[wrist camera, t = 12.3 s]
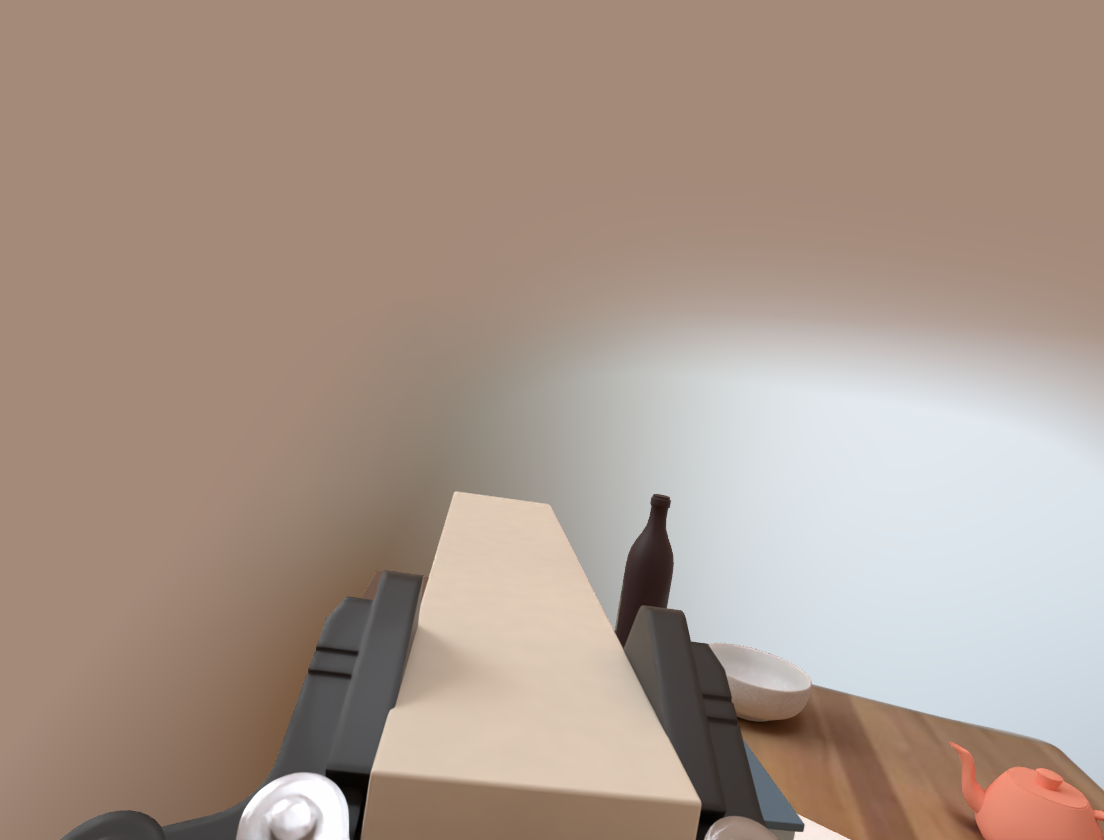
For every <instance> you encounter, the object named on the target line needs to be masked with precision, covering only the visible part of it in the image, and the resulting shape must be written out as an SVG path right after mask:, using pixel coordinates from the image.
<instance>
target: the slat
mask: <svg viewBox="0 0 1104 840" xmlns="http://www.w3.org/2000/svg"><path fill="white" fill-rule="evenodd" d="M701 805H702V804H701V801H700V799H699V797H698V795H697V793H696V791H695V789H694V787H693V785H692V783H691V781H690V779H689V777H688V775H687V773H686V771H685V769H684V767H683V765H682V763H681V761H680V759H679V757H678V755H677V753H676V752H675V750H674V748H673V746H672V744H671V742H670V740H669V738H668V736H667V735H666V733H665V731H664V729H663V727H662V725H661V723H660V721H659V719H658V717H657V715H656V713H655V711H654V709H653V707H652V706H651V704H650V702H649V700H648V698H647V696H646V694H645V692H644V690H643V688H642V686H641V684H640V682H639V680H638V678H637V676H636V674H635V672H634V670H633V668H632V666H631V664H630V662H629V660H628V658H627V656H626V654H625V652H624V650H623V648H622V646H621V644H620V642H619V640H618V638H617V636H616V634H615V632H614V630H613V628H612V626H611V624H610V622H609V620H608V618H607V616H606V614H605V612H604V610H603V608H602V607H601V604H600V602H599V600H598V599H597V597H596V595H595V593H594V591H593V589H592V587H591V585H590V583H589V581H588V579H587V577H586V575H585V573H584V571H583V569H582V567H581V565H580V563H579V561H578V559H577V557H576V556H575V553H574V551H573V549H572V547H571V545H570V544H569V542H568V540H567V538H566V536H565V534H564V532H563V530H562V528H561V526H560V524H559V522H558V520H557V518H556V516H555V514H554V512H553V510H552V508H551V506H550V505H549V504H543V503H536V502H528V501H521V500H514V499H507V498H500V497H492V496H485V495H478V494H470V493H464V492H454V495H453V498H452V501H451V505H450V508H449V511H448V515H447V518H446V522H445V525H444V528H443V532H442V535H441V538H440V542H439V545H438V548H437V552H436V555H435V558H434V562H433V565H432V568H431V572H430V575H429V578H428V582H427V585H426V589H425V592H424V595H423V599H422V602H421V605H420V613H419V621H418V627H417V630H416V634H415V637H414V641H413V644H412V648H411V652H410V655H409V659H408V662H407V666H406V669H405V673H404V677H403V680H402V684H401V687H400V691H399V694H398V698H397V702H396V705H395V708H393V709H391V710H390V712H389V714H388V716H387V719H386V723H385V726H384V729H383V733H382V736H381V739H380V743H379V746H378V749H377V753H376V756H375V760H374V763H373V766H372V770H371V773H370V779H369V786H368V793H367V800H366V806H365V813H364V820H363V826H362V833H361V840H696V834H697V828H698V823H699V817H700V811H701Z"/></svg>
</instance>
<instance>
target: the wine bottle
mask: <svg viewBox="0 0 1104 840" xmlns="http://www.w3.org/2000/svg"><path fill="white" fill-rule="evenodd" d="M670 502H671V501H670V497H668V496H664V495H659V494H654V495H653V497H652V498H651V506H652V507H651V512H650V517H649V520H648V523H647V526H646V527H645V529H644V530H643V532H642V533H641V534H640V536H639V537H638V538H637V539H636V541H635V542H634V544H633V546H632V547H631V549H630V552H629V554H628V558H627V562H626V567H625V573H624V579H623V585H622V591H621V597H620V603H619V609H618V614H617V620H616V627H615V634H616V636H617V638H618V640H619V642H620V644H621V646H622V648H623V649H624V647H625V644H626V641H627V639H628V636H629V634H630V631H631V628H632V626H633V623H634V621H635V618H636V615H637V613H638V610H639V609H640V607H641V606H643V605H644V606H652V607H659V608H667V604H668V598H669V592H670V586H671V580H672V574H673V565H674V563H673V553H672V549H671V545H670V542H669V539H668V535H667V531H666V517H667V511H668V508H670Z"/></svg>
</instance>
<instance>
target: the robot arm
mask: <svg viewBox="0 0 1104 840" xmlns="http://www.w3.org/2000/svg"><path fill="white" fill-rule="evenodd" d="M423 581H424V575H417V574H410V573H402V572H395V571H388V570H383V572H382V574H381V577H380V580H379V584H378V587H377V591H376V594H375V598H374V600H370V599H362V598H354V597H346V598H345V599H344V600H343V601H342V602H341V604H340V605H339V606H338V607H337V608H336V609H335V610H334V611H333V612H332V613H331V614H330V615H329V616H328V618H327V619H326V621H325V624H324V627H323V630H322V633H321V635H320V638H319V641H318V644H317V647H316V651H315V652H314V655H313V658H312V661H311V664H310V667H309V670H308V674H307V675H306V678H305V680H304V683H303V686H302V689H301V692H300V695H299V697H298V700H297V703H296V706H295V709H294V712H293V714H292V717H291V720H290V723H289V726H288V729H287V732H286V734H285V737H284V740H283V743H282V746H281V748H280V752H279V754H278V757H277V760H276V762H275V764H274V767H273V769H272V770H271V772H270V774H269V775H268V777H267V778H266V780H265V781H264V782H263V783H262V784H261V786H260V787H259V788H258V789H257V790H256V791H255V792H254V793H253V794H251V795H250V796H249V797H247V798H246V799H245V800H243V801H242V802H240V803H239V804H237V805H235V806H234V807H232V808H229V809H227V810H225V811H223V812H220V813H216V814H213V815H210V816H206V817H202V818H197V819H193V820H188V821H185V822H180V823H176V824H172V825H167V826H163V827H161V826H160V825H159V824H158V823H157V821H156V820H154V819H153V818H151V817H150V816H148V815H146V814H143V813H141V812H136V811H130V810H129V811H115V812H109V813H106V814H103V815H99V816H97V817H95V818H92V819H90V820H88V821H86V822H84V823H82V824H81V825H79V826H77V827H76V828H75V829H73V830H72V831H71V832H69V833H68V834H67V835H65V836H64V837H63V838H62V839H61V840H361V833H362V826H363V820H364V813H365V806H366V800H367V793H368V786H369V779H370V773H371V770H372V766H373V763H374V760H375V756H376V753H377V749H378V746H379V743H380V739H381V736H382V733H383V729H384V726H385V723H386V719H387V716H388V714H389V712H390V710H391V709H393V708H395V705H396V702H397V698H398V694H399V691H400V687H401V684H402V680H403V677H404V673H405V669H406V666H407V662H408V659H409V655H410V652H411V648H412V644H413V641H414V637H415V634H416V630H417V627H418V621H419V613H420V605H421V597H422V589H423ZM623 650H624V652H625V654H626V656H627V658H628V660H629V662H630V664H631V666H632V668H633V670H634V672H635V674H636V676H637V678H638V680H639V682H640V684H641V686H642V688H643V690H644V692H645V694H646V696H647V698H648V700H649V702H650V704H651V706H652V707H653V709H654V711H655V713H656V715H657V717H658V719H659V721H660V723H661V725H662V727H663V729H664V731H665V733H666V735H667V736H668V738H669V740H670V742H671V744H672V746H673V748H674V750H675V752H676V753H677V755H678V757H679V759H680V761H681V763H682V765H683V767H684V769H685V771H686V773H687V775H688V777H689V779H690V781H691V783H692V785H693V787H694V789H695V791H696V793H697V795H698V797H699V799H700V801H701V804H702V805H701V811H700V817H699V823H698V828H697V834H696V840H779V839H778V838H777V837H776V836H775V835H774V834H773V833H772V832H771V831H770V830H769V829H768V828H767V825H766V823H765V821H764V819H763V815H762V812H761V809H760V805H759V801H758V797H757V793H756V789H755V785H754V781H753V778H752V774H751V770H750V766H749V762H748V758H747V754H746V750H745V746H744V742H743V738H742V734H741V730H740V727H739V726H738V725H737V722H738V719H737V715H736V711H735V707H734V703H732V695H731V691H730V687H729V683H728V679H727V676H726V672H725V669H724V667H723V666H722V664H721V663H720V661H719V660H718V658H717V657H716V655H715V654H714V652H713V651H712V649H711V648H710V646H709V645H708V644H705V643H697V642H691V640H690V635H689V631H688V627H687V622H686V618H685V615H684V613H683V612H682V611H681V610H674V609H667V608H659V607H652V606H644V605H643V606H641V607H640V609H639V610H638V613H637V615H636V618H635V621H634V623H633V626H632V628H631V631H630V634H629V636H628V639H627V641H626V644H625V647H624V649H623Z"/></svg>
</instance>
